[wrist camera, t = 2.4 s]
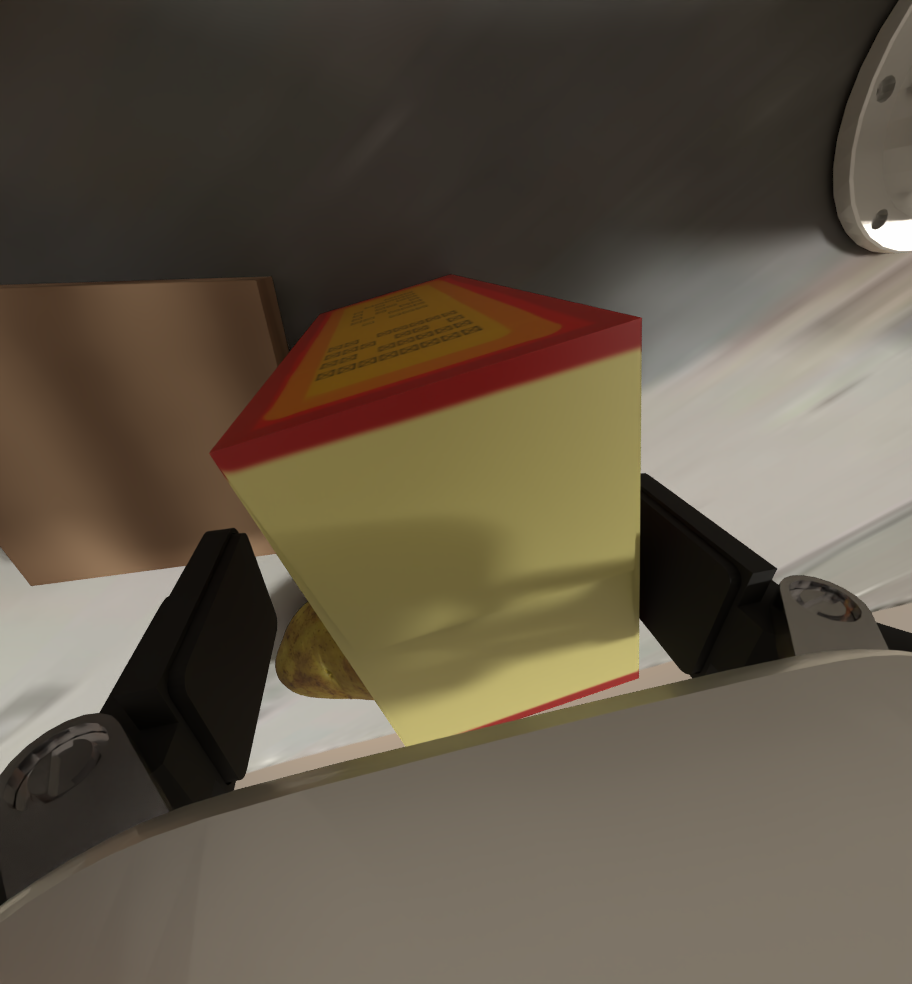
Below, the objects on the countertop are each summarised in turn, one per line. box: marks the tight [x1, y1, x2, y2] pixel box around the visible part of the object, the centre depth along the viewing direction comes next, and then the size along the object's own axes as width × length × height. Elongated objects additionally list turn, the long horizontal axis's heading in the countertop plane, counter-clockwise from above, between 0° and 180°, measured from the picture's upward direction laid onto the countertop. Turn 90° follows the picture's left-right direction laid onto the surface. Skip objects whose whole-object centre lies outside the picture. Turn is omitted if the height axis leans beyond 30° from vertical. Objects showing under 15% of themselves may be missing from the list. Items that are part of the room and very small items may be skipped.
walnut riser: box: [0, 276, 289, 586], centre depth 19 cm, size 14×13×3 cm
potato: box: [275, 602, 374, 700], centre depth 25 cm, size 8×13×8 cm, turn 98°
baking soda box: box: [209, 274, 642, 747], centre depth 15 cm, size 10×6×16 cm
